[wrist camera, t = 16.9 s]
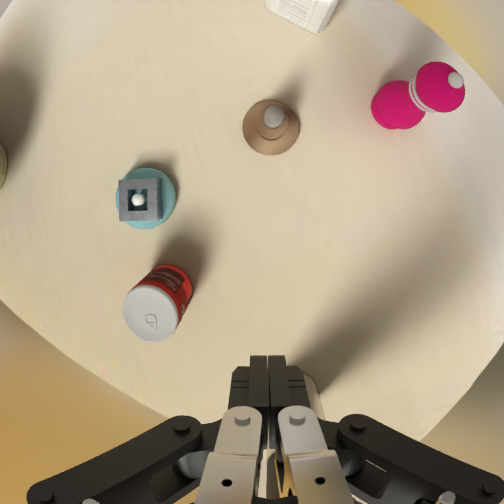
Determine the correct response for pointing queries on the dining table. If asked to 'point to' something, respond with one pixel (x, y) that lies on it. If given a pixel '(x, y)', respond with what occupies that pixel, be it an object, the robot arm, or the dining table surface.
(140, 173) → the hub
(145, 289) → the canned food
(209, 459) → the robot arm
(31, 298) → the dining table surface
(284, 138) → the stand
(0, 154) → the amphora
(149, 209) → the square metal frame
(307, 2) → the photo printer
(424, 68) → the pepper mill
